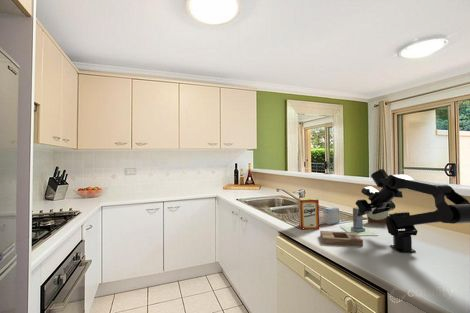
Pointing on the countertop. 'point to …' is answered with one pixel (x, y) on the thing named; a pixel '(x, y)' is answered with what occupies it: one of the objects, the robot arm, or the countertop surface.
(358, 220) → the lever cap
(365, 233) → the sage mat
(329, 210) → the medicine box
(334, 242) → the brown rectangular frame
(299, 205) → the baking soda box
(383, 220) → the food container
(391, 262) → the countertop surface
